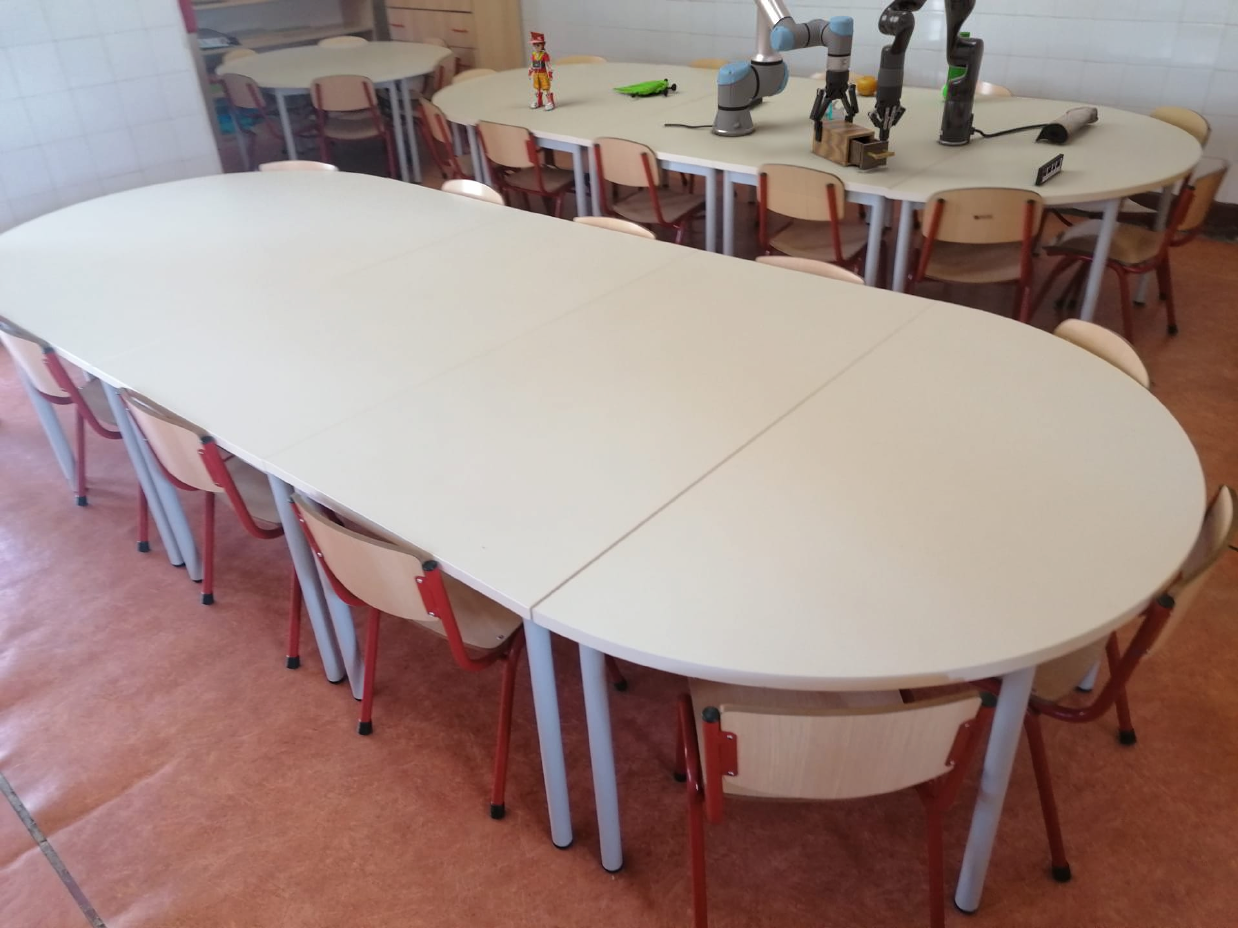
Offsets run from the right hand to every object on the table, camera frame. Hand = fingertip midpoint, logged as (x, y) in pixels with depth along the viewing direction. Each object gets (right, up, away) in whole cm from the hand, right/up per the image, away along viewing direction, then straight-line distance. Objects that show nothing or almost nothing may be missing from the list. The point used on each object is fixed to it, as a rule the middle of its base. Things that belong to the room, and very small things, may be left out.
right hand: (883, 141), depth 281 cm
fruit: (+20, +52, +90) cm, 106 cm away
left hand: (-10, +10, +25) cm, 28 cm away
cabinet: (-8, +3, +23) cm, 24 cm away
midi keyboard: (+49, -14, -7) cm, 51 cm away
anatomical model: (-2, +31, +63) cm, 70 cm away
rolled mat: (+73, +13, +30) cm, 80 cm away
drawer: (-3, -2, +13) cm, 13 cm away
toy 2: (-74, +63, +116) cm, 151 cm away
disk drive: (-32, +46, +86) cm, 103 cm away
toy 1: (-116, +51, +102) cm, 162 cm away
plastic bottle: (+50, +42, +74) cm, 98 cm away
